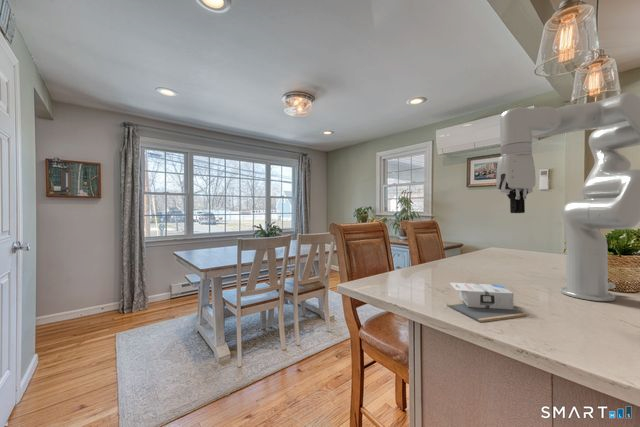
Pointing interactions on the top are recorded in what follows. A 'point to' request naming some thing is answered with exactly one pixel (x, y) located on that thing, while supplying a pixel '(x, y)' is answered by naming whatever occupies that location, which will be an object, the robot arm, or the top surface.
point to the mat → (485, 312)
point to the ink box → (485, 295)
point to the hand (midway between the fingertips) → (517, 212)
